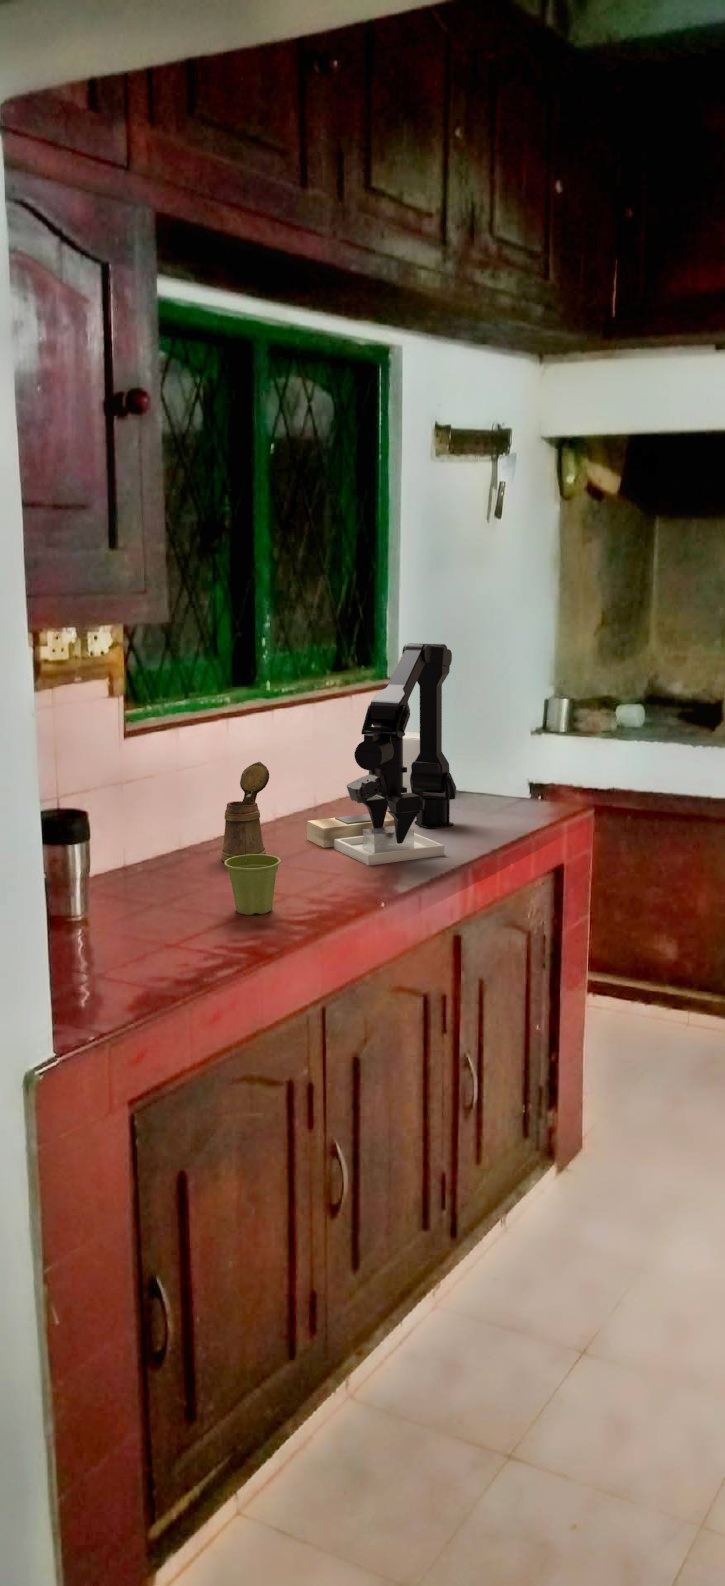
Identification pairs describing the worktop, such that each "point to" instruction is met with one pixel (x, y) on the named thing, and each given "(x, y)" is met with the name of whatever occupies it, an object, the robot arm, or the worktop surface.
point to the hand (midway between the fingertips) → (388, 838)
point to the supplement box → (410, 755)
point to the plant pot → (253, 882)
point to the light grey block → (385, 840)
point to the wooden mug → (245, 816)
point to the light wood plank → (341, 828)
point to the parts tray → (356, 851)
